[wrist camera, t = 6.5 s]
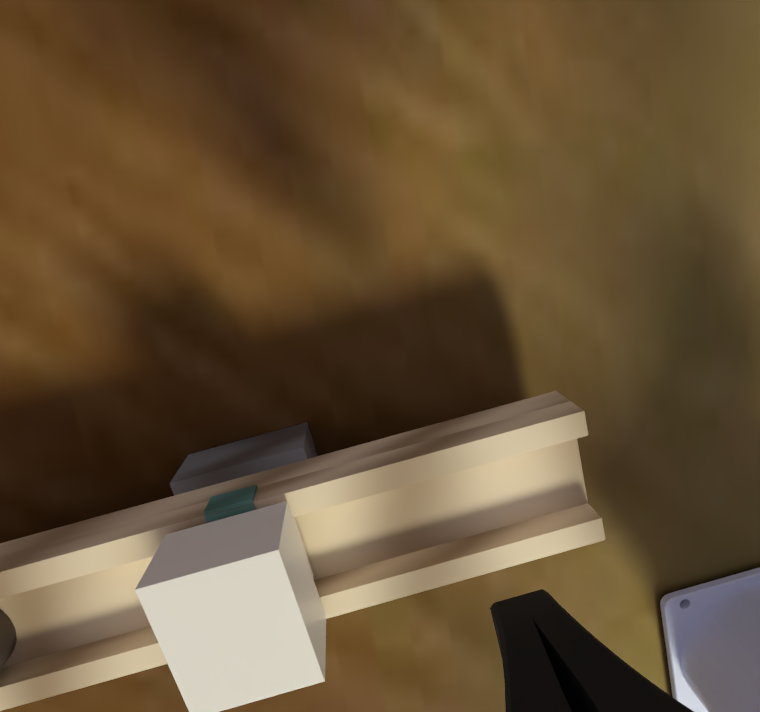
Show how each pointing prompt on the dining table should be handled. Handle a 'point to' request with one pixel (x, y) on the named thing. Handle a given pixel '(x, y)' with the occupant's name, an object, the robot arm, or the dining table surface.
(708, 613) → the robot arm
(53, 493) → the dining table surface
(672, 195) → the dining table surface
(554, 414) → the beam
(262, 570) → the rider
